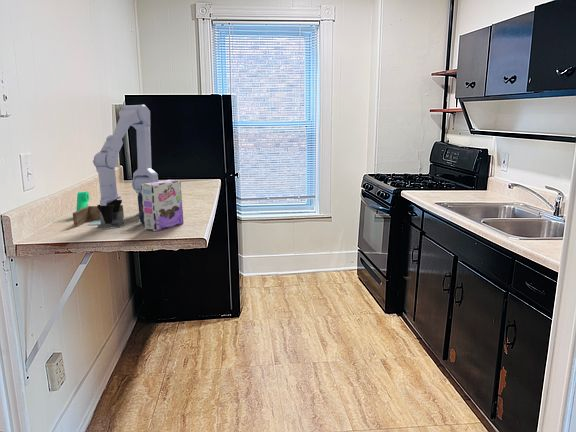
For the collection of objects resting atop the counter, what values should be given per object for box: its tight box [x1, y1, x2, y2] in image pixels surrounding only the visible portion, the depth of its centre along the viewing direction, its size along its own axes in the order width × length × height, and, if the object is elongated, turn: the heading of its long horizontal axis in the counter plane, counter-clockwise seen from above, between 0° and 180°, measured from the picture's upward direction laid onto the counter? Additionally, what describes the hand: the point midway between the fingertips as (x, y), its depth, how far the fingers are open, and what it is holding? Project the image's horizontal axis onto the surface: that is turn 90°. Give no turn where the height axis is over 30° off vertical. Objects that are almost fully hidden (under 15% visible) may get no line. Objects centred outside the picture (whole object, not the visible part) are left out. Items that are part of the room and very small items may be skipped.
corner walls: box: [72, 204, 125, 228], centre depth 172 cm, size 14×14×5 cm
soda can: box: [137, 192, 144, 226], centre depth 167 cm, size 7×7×12 cm
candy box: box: [141, 179, 184, 232], centre depth 160 cm, size 14×6×16 cm, turn 148°
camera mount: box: [75, 191, 90, 212], centre depth 184 cm, size 12×8×10 cm, turn 8°
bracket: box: [96, 211, 125, 229], centre depth 164 cm, size 8×5×5 cm, turn 94°
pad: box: [87, 219, 101, 226], centre depth 172 cm, size 9×5×1 cm, turn 4°
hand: (111, 221), depth 166 cm, fingers open, 7 cm apart
